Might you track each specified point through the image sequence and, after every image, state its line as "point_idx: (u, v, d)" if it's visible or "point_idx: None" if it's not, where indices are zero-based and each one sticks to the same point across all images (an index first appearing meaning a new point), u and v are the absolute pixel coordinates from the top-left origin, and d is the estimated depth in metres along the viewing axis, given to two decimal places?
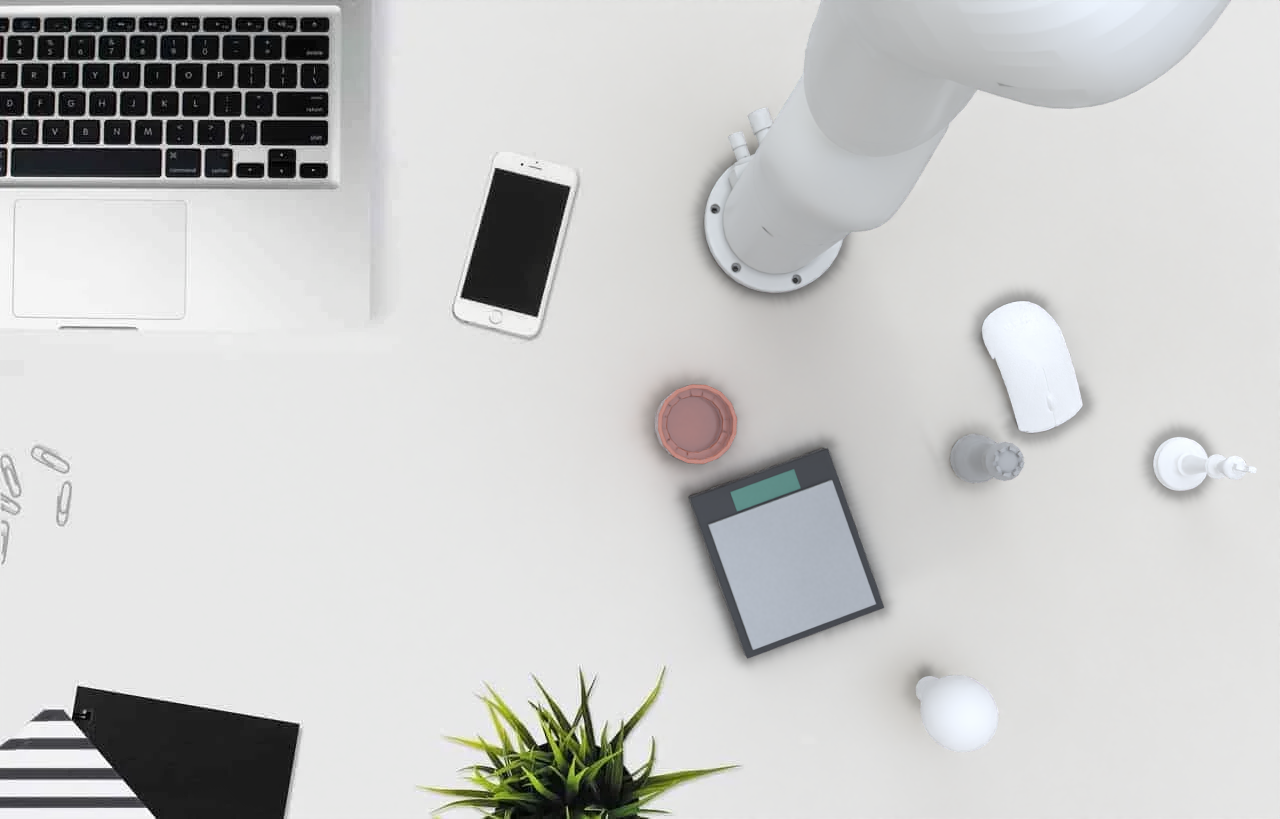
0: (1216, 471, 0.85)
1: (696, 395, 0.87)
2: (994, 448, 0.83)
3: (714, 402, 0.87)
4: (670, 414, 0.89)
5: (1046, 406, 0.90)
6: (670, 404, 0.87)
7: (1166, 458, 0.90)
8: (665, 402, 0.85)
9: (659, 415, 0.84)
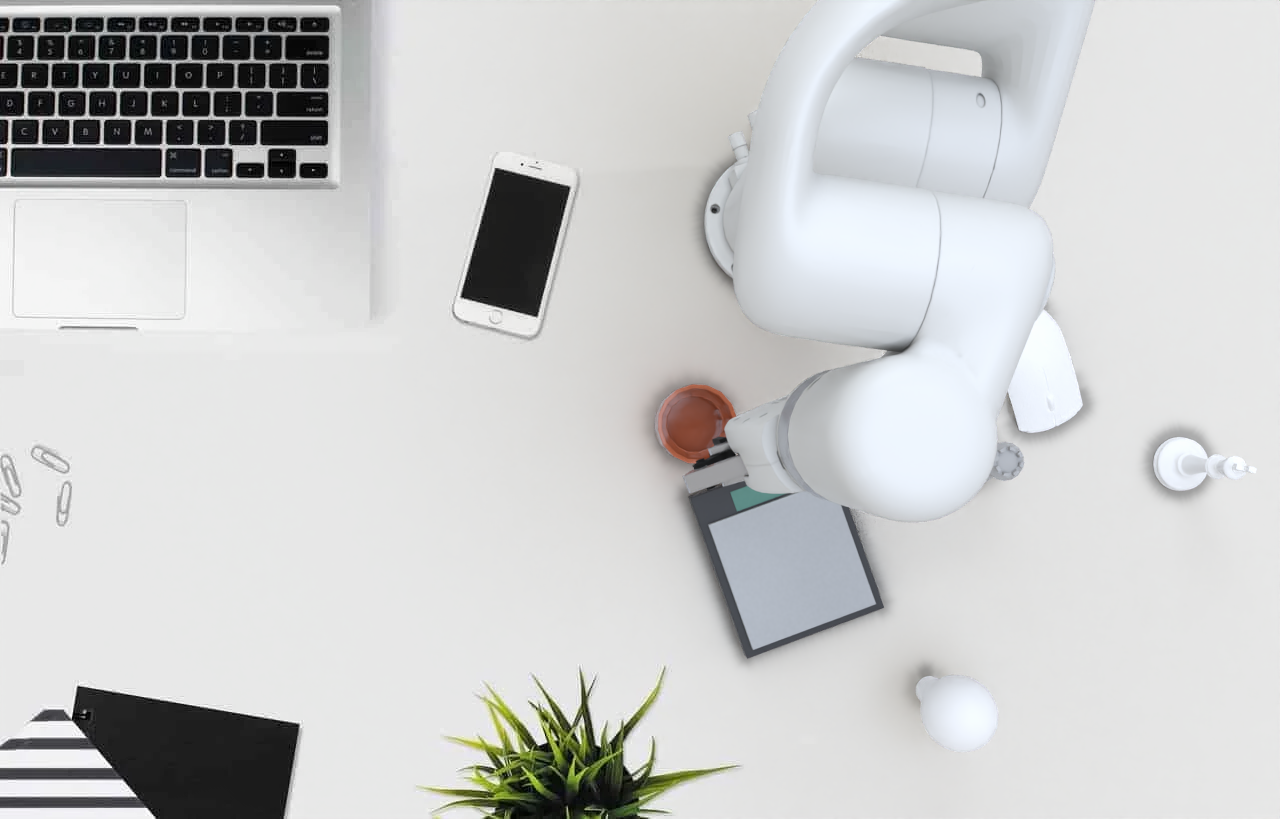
0: (1216, 471, 0.85)
1: (696, 395, 0.87)
2: None
3: (714, 402, 0.87)
4: (670, 414, 0.89)
5: (1047, 406, 0.90)
6: (670, 404, 0.87)
7: (1166, 458, 0.90)
8: (665, 402, 0.85)
9: (659, 415, 0.84)
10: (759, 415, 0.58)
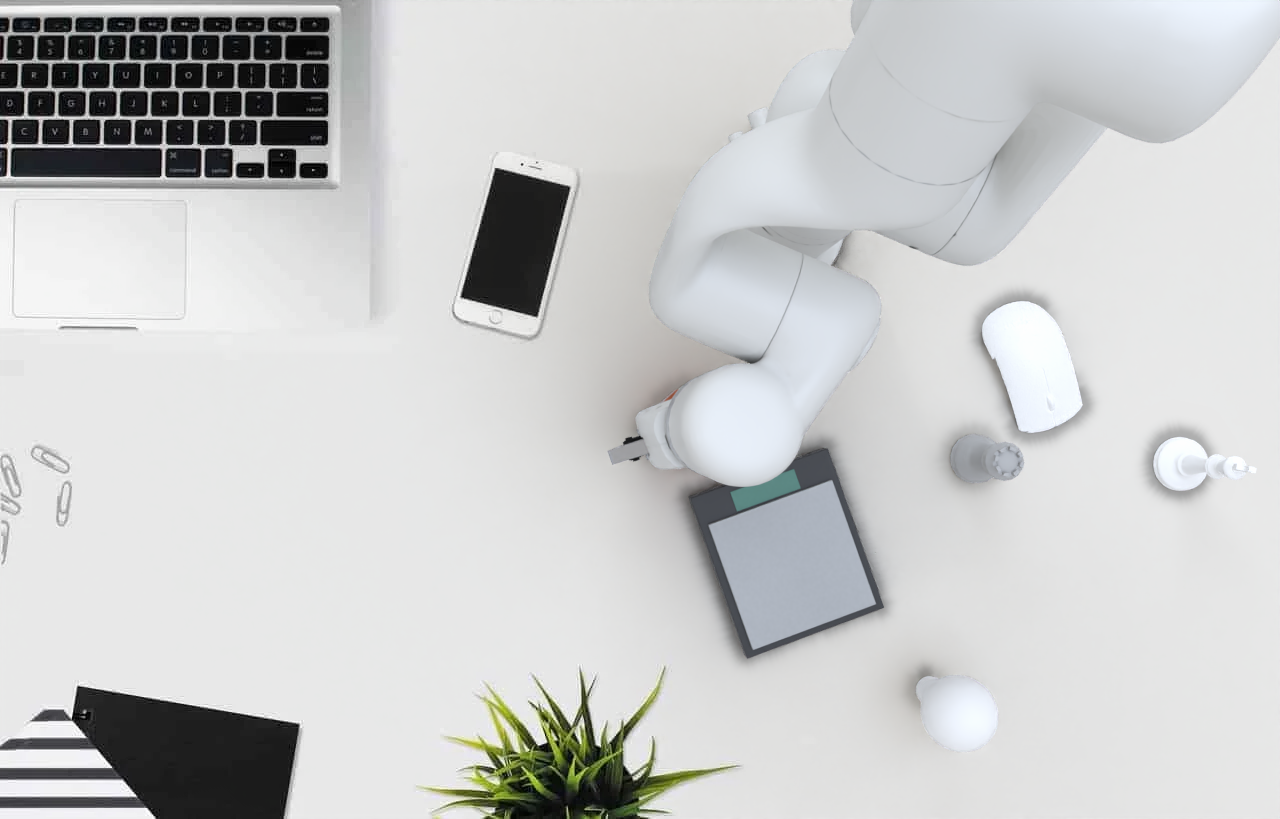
0: (1216, 471, 0.85)
1: None
2: (994, 448, 0.83)
3: None
4: None
5: (1046, 406, 0.90)
6: None
7: (1166, 458, 0.90)
8: None
9: None
10: (656, 407, 0.75)
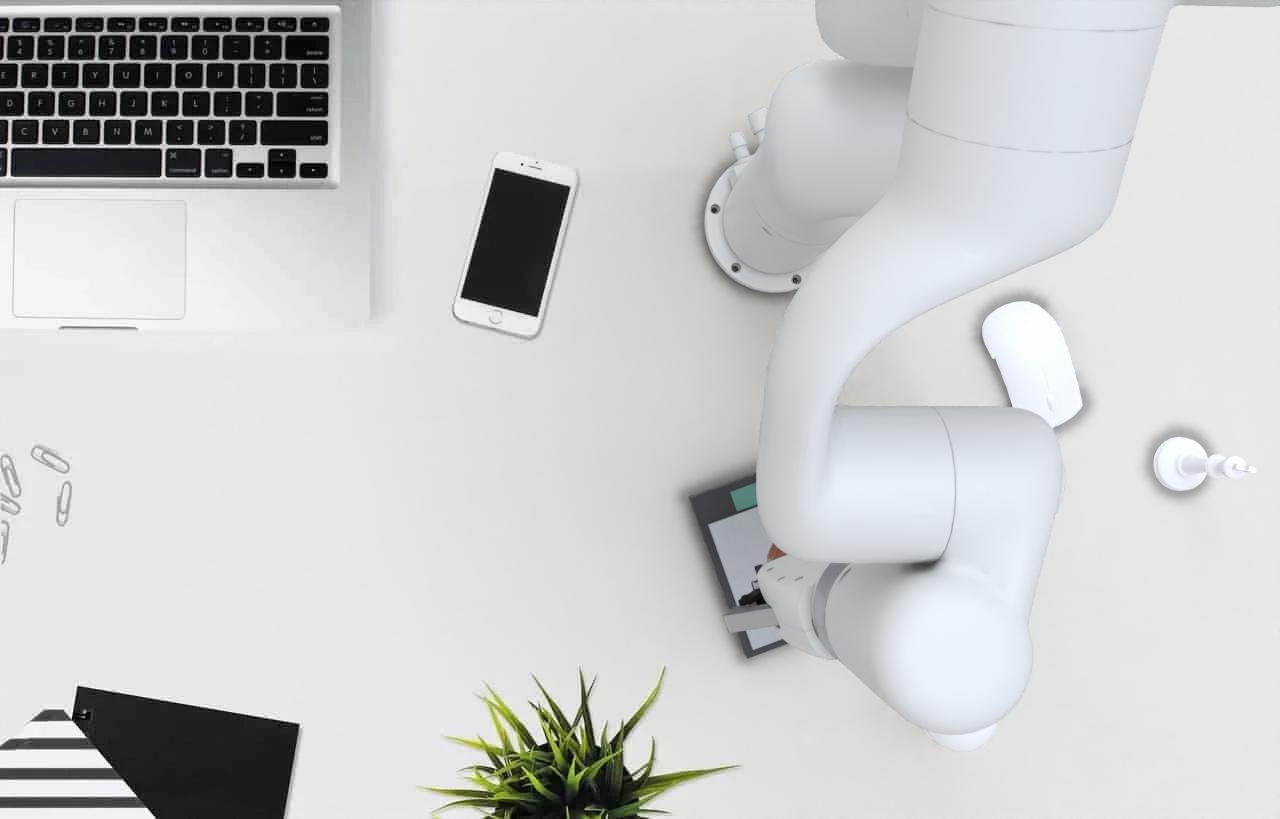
0: (1216, 471, 0.85)
1: None
2: None
3: None
4: None
5: (1046, 406, 0.90)
6: None
7: (1166, 458, 0.90)
8: None
9: None
10: (794, 577, 0.60)
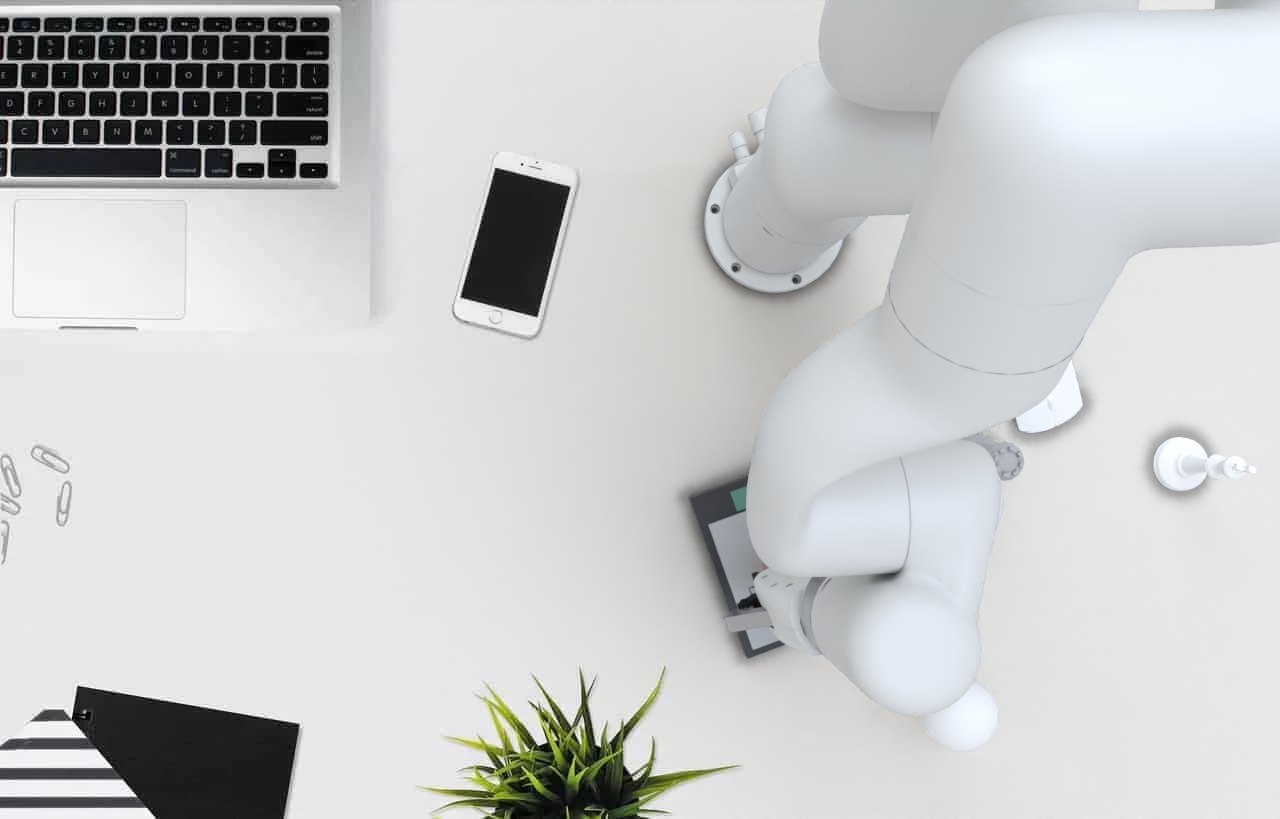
0: (1216, 471, 0.85)
1: None
2: (994, 448, 0.83)
3: None
4: None
5: (1046, 406, 0.90)
6: None
7: (1166, 458, 0.90)
8: None
9: None
10: (785, 583, 0.70)
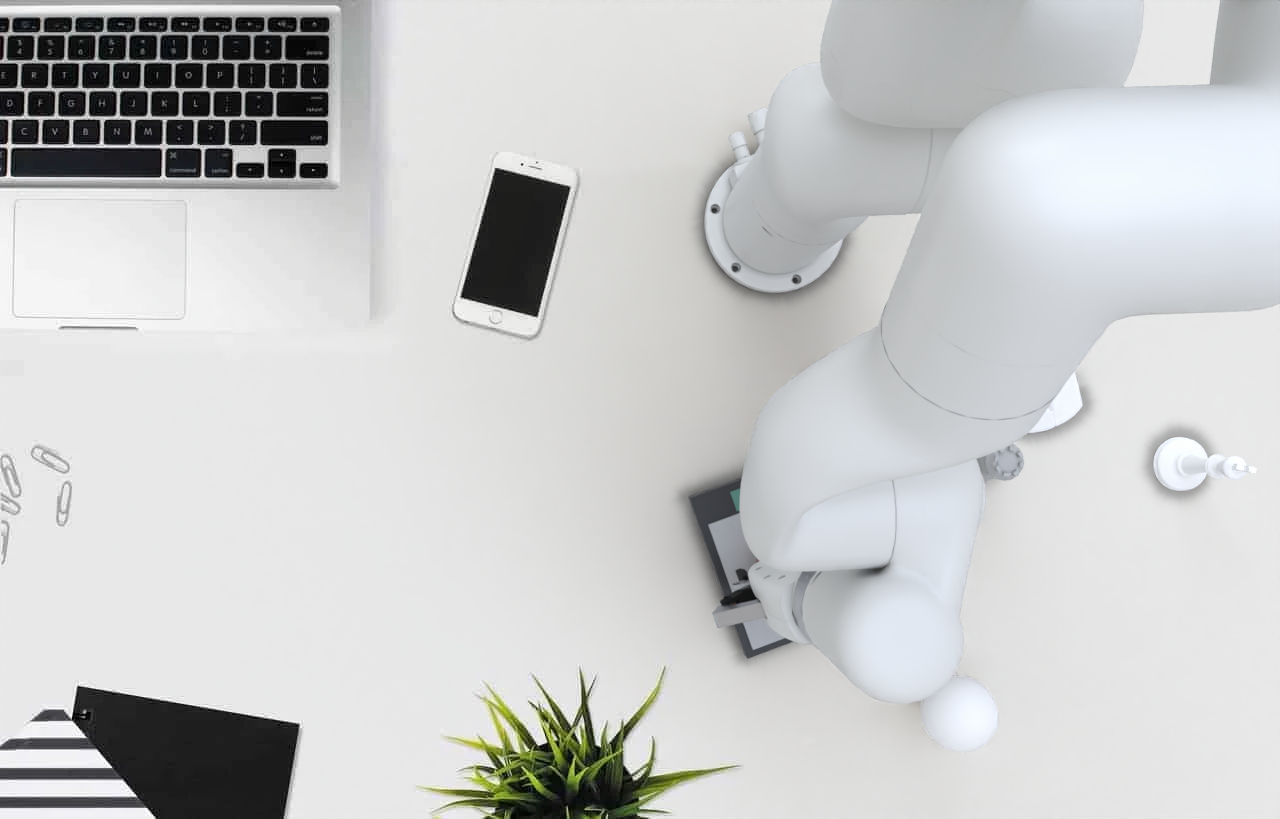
0: (1216, 471, 0.85)
1: None
2: None
3: None
4: None
5: None
6: None
7: (1166, 458, 0.90)
8: None
9: None
10: (778, 575, 0.72)
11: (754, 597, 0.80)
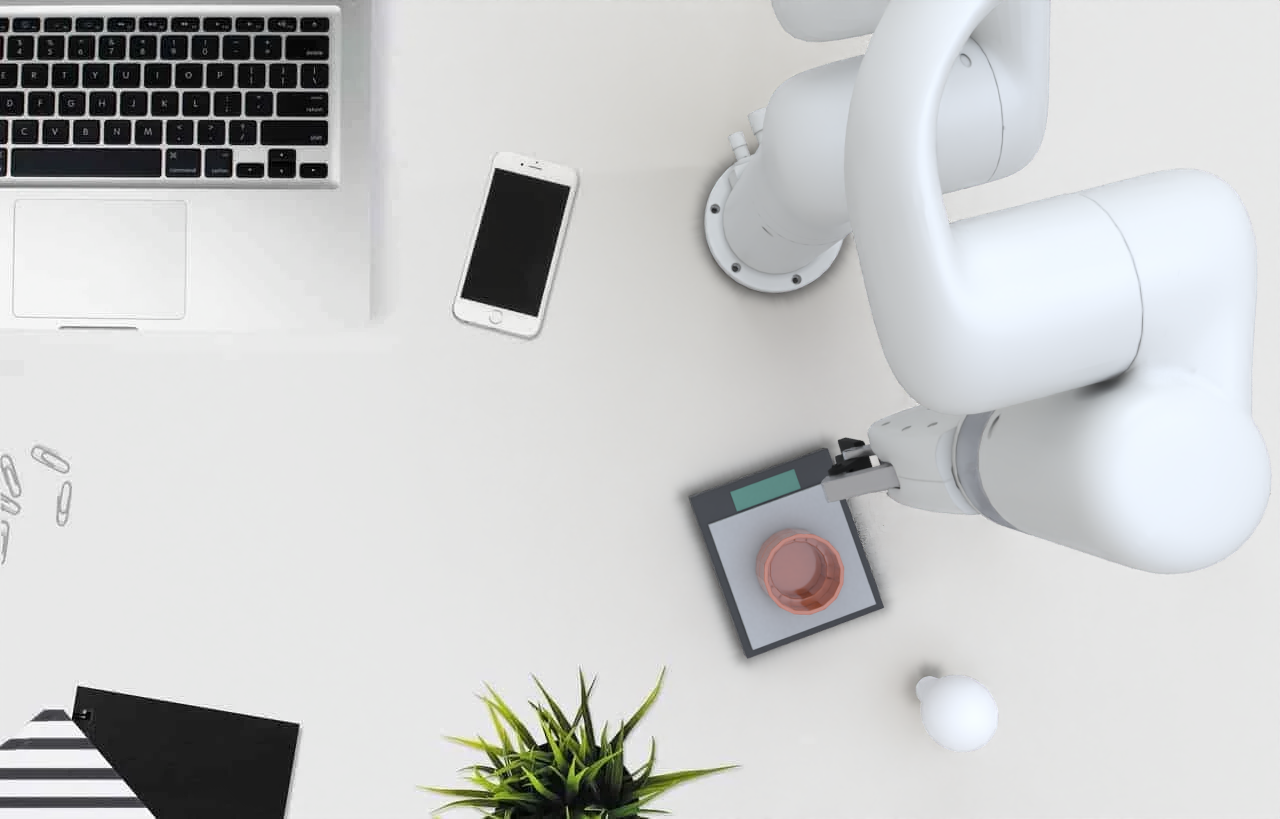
0: None
1: (800, 541, 0.85)
2: None
3: (818, 548, 0.85)
4: None
5: None
6: None
7: None
8: (771, 552, 0.83)
9: (765, 565, 0.83)
10: (925, 424, 0.52)
11: None
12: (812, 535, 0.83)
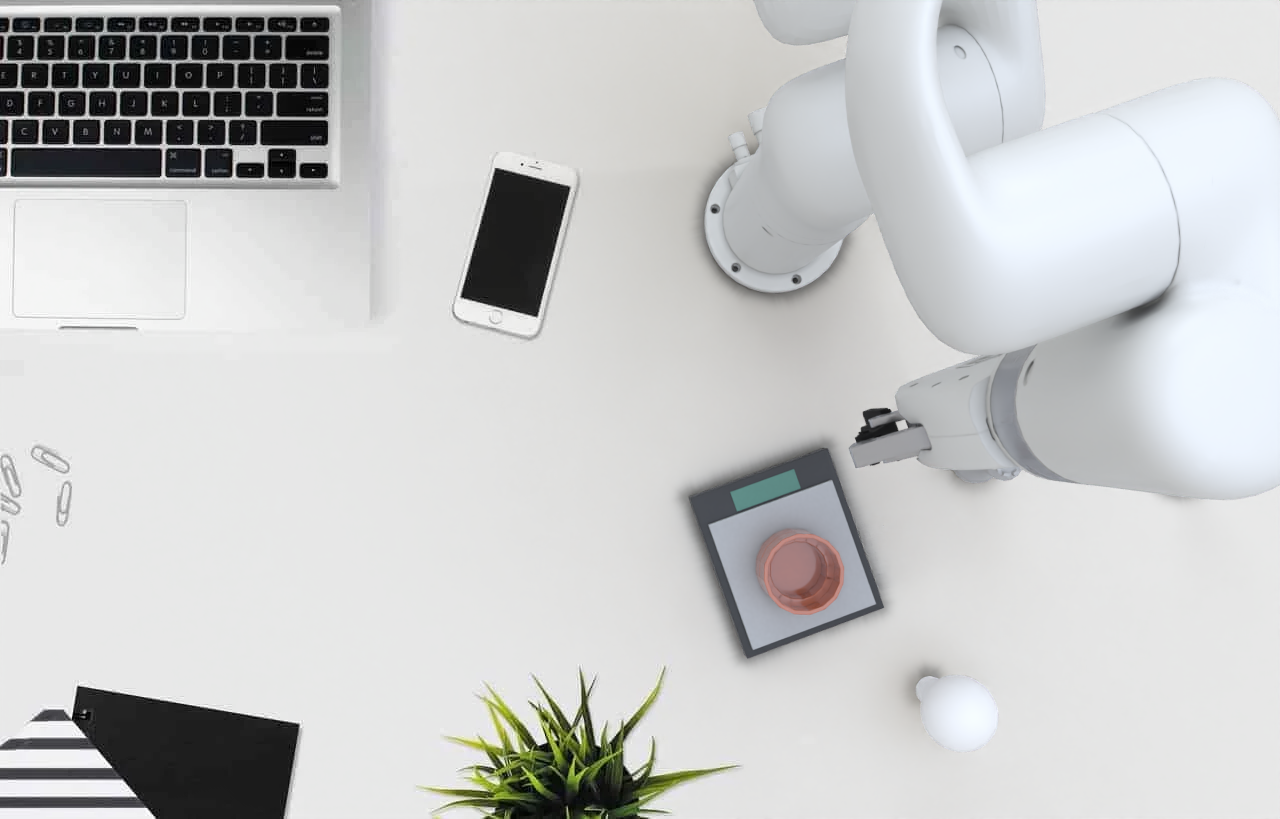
0: None
1: (800, 541, 0.85)
2: None
3: (818, 548, 0.85)
4: None
5: None
6: None
7: None
8: (771, 552, 0.83)
9: (765, 565, 0.83)
10: (956, 378, 0.50)
11: None
12: (812, 535, 0.83)
